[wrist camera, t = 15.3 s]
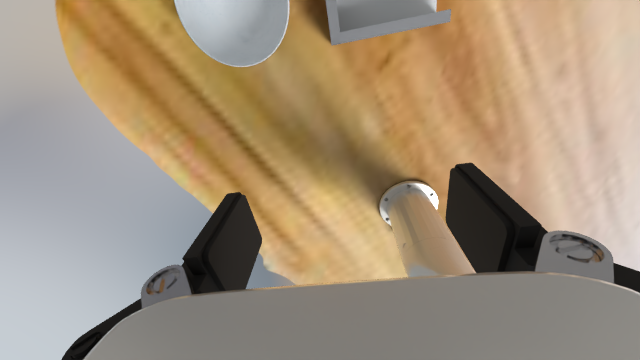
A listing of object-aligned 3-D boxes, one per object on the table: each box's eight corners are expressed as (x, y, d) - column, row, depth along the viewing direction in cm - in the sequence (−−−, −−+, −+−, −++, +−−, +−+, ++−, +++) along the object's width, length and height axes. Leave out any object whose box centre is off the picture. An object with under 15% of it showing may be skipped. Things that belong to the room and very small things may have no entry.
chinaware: (309, 46, 40) (304, 47, 33) (228, 74, 43) (209, 80, 36) (275, -75, 33) (260, -104, 26) (181, -32, 36) (146, -49, 29)
